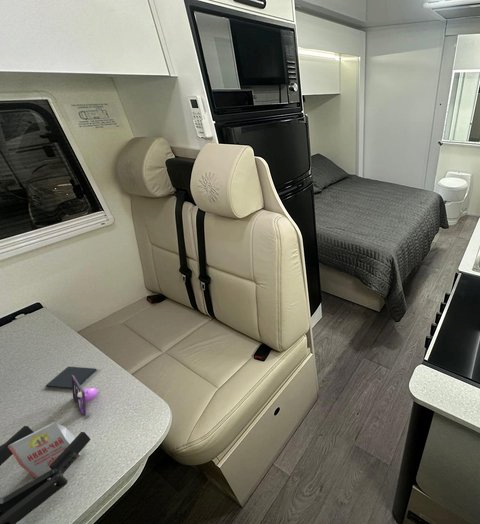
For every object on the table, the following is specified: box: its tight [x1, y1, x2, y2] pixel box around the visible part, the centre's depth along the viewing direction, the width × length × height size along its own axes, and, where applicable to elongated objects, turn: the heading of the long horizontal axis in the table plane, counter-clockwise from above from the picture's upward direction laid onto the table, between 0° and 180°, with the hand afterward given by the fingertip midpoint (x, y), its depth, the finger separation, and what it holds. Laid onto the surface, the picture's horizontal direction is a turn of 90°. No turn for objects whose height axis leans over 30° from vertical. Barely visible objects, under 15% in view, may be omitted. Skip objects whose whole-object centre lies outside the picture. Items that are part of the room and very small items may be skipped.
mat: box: [45, 366, 98, 390], centre depth 79 cm, size 9×6×1 cm
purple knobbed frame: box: [71, 375, 100, 417], centre depth 72 cm, size 7×5×9 cm
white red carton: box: [8, 421, 81, 479], centre depth 58 cm, size 4×7×10 cm, turn 133°
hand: (57, 432), depth 60 cm, fingers open, 13 cm apart
